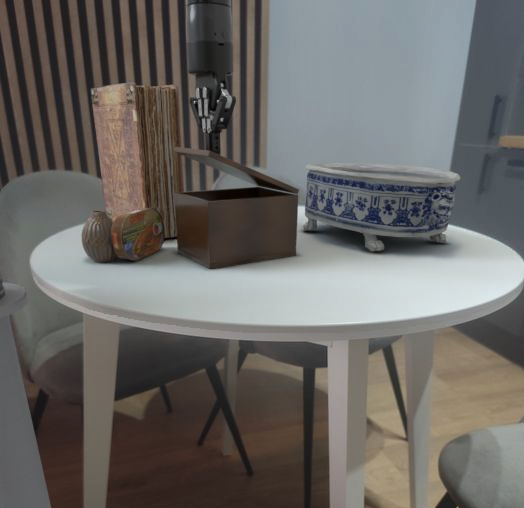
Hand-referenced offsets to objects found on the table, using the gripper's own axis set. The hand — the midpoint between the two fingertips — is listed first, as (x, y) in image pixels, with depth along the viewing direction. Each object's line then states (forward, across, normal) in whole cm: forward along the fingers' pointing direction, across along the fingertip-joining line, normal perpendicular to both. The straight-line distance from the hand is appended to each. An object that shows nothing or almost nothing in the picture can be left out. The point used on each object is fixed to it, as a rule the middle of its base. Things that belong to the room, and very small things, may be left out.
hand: (213, 156), depth 87 cm
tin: (+18, -8, -12) cm, 23 cm away
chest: (+18, 0, +4) cm, 19 cm away
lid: (+3, 0, +5) cm, 5 cm away
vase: (+18, -9, -19) cm, 28 cm away
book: (+18, -30, -3) cm, 35 cm away
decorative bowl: (+18, +2, +39) cm, 43 cm away
